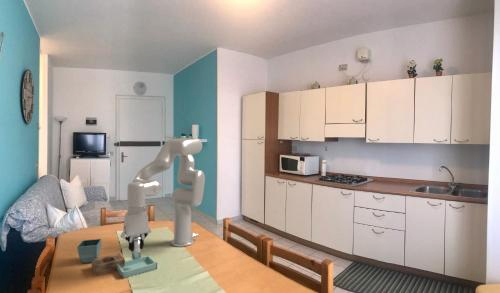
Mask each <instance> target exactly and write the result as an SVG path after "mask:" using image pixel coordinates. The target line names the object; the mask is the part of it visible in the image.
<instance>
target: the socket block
mask: <svg viewBox="0 0 500 293" xmlns="http://www.w3.org/2000/svg"><path fill="white" fill-rule="evenodd" d="M125 261H126V260H125V258H124V257H123V256H122V255H121V253H115V254H111V255H106V256H101V257H97V259H93V260H92V262H91V270H92V271H93V273H94V275H95V276H96V277H97V276H101V275H104V274H108V273H111V272H115V271H117V264H119V265H120V266H121V268H122V267H125Z"/></svg>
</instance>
